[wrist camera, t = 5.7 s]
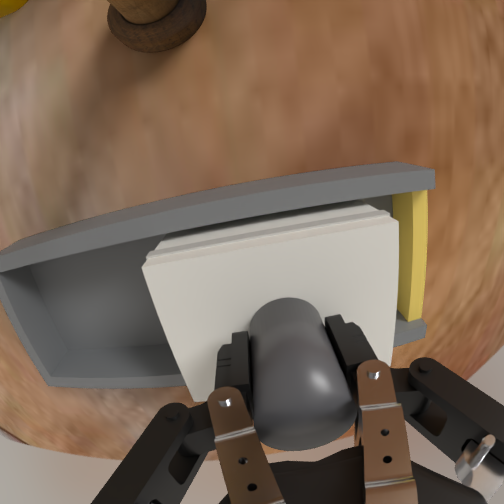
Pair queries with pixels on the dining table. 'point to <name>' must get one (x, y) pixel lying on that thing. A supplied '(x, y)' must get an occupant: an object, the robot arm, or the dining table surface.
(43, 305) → the bay
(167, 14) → the brown wooden tall piece
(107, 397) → the dining table surface
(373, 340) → the white plate with knob
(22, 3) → the element tile
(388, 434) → the robot arm
